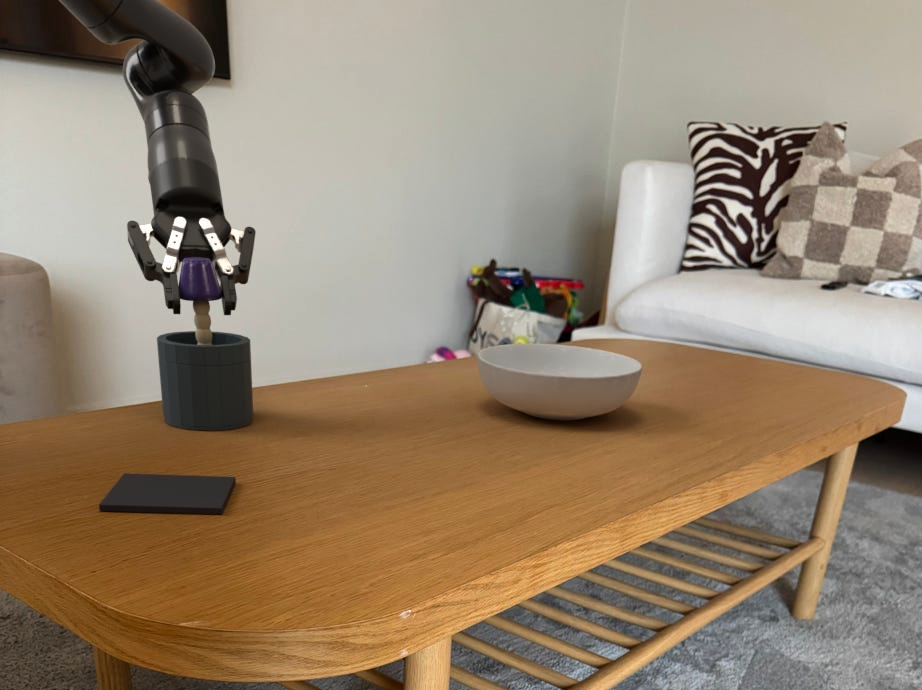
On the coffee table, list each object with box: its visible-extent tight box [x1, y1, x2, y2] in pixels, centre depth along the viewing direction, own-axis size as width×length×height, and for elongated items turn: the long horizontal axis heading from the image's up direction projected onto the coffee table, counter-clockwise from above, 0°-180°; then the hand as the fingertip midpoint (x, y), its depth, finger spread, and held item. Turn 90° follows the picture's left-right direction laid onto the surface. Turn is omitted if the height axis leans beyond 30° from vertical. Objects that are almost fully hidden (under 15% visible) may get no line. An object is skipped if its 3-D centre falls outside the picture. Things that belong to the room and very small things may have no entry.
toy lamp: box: [178, 257, 222, 345], centre depth 105 cm, size 5×5×17 cm
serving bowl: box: [477, 343, 643, 421], centre depth 122 cm, size 21×21×7 cm
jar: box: [156, 330, 254, 432], centre depth 107 cm, size 10×10×9 cm
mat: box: [98, 472, 237, 515], centre depth 84 cm, size 10×9×1 cm
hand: (202, 309), depth 102 cm, fingers closed on toy lamp, 4 cm apart
